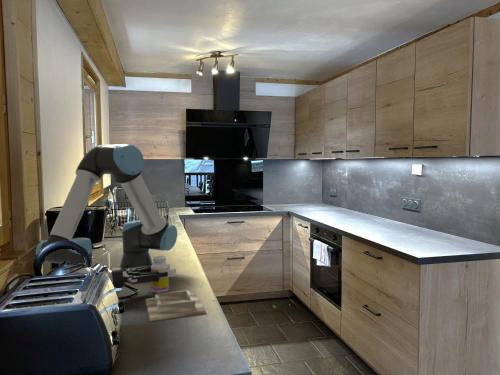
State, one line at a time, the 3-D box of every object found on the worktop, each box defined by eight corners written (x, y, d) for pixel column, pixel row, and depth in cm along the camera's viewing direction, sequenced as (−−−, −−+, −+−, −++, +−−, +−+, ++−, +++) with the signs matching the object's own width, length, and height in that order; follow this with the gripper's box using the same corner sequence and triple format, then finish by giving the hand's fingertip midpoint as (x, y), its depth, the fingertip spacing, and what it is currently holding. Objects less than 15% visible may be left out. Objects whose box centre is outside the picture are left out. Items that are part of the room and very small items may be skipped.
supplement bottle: (148, 290, 146) (147, 257, 145) (163, 286, 151) (162, 254, 150) (157, 294, 141) (156, 260, 141) (172, 290, 146) (171, 257, 145)
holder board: (145, 301, 137) (145, 292, 136) (195, 295, 143) (195, 286, 142) (149, 320, 120) (149, 310, 120) (205, 313, 126) (205, 303, 125)
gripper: (106, 281, 146) (165, 273, 157) (115, 297, 129) (181, 286, 140) (105, 262, 145) (164, 255, 156) (115, 275, 128) (180, 266, 139)
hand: (172, 269), depth 148 cm, fingers closed on supplement bottle, 7 cm apart
